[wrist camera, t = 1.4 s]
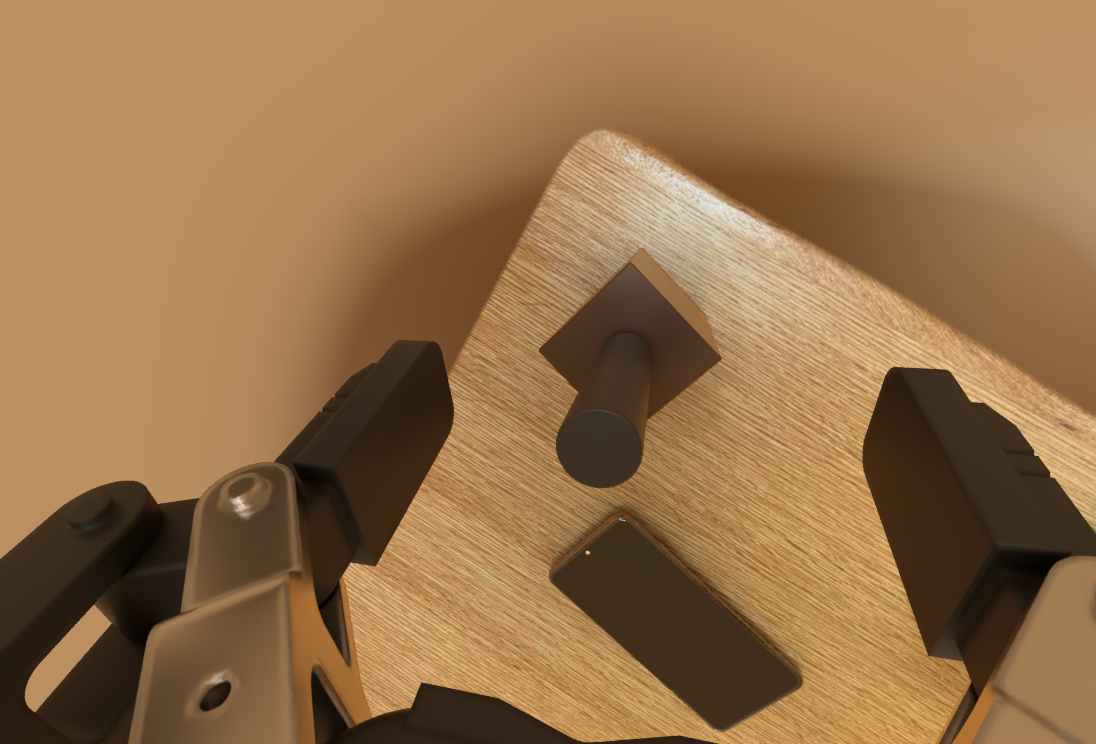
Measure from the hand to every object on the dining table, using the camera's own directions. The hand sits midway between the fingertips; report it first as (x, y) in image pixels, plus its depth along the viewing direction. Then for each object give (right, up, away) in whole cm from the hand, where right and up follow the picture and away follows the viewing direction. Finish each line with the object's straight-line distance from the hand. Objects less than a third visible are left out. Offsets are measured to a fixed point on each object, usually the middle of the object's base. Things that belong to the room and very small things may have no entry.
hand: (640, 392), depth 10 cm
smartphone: (+6, -16, +25) cm, 30 cm away
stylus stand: (+3, +4, +20) cm, 21 cm away
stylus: (+1, +1, +11) cm, 11 cm away
